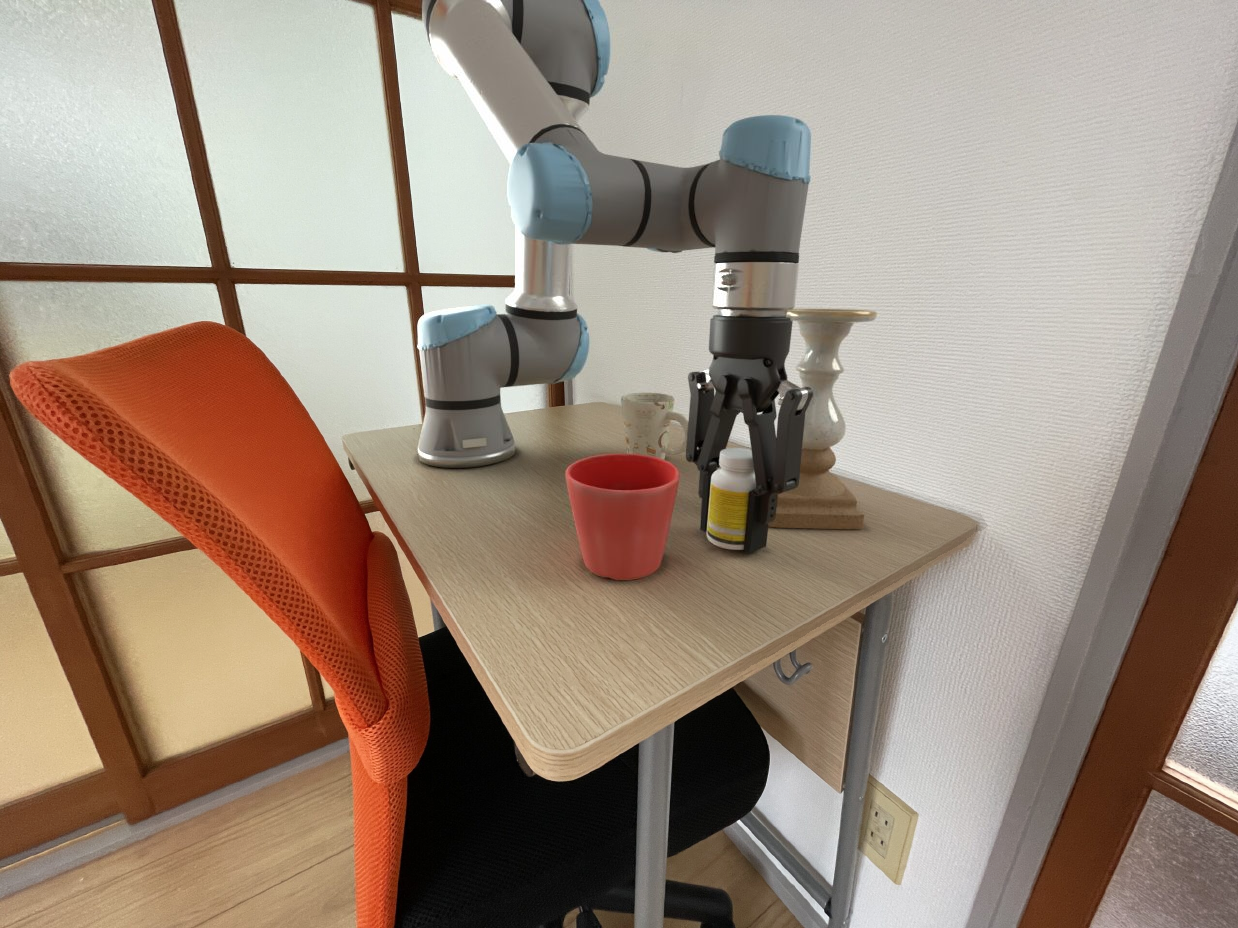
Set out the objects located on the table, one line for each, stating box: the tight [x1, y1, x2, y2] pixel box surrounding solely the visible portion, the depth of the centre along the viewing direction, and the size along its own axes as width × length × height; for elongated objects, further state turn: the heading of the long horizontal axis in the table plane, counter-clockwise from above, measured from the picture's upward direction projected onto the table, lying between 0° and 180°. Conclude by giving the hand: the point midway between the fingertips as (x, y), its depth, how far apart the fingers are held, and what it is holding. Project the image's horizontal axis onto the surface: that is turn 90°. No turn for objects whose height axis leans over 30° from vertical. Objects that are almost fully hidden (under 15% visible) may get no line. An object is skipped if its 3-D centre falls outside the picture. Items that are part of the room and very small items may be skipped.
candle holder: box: [768, 308, 878, 530], centre depth 62 cm, size 11×11×24 cm
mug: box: [620, 392, 689, 460], centre depth 83 cm, size 8×13×10 cm, turn 54°
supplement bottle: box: [706, 447, 756, 551], centre depth 55 cm, size 5×5×10 cm
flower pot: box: [565, 453, 681, 581], centre depth 51 cm, size 11×11×10 cm
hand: (732, 537), depth 57 cm, fingers closed on supplement bottle, 5 cm apart
